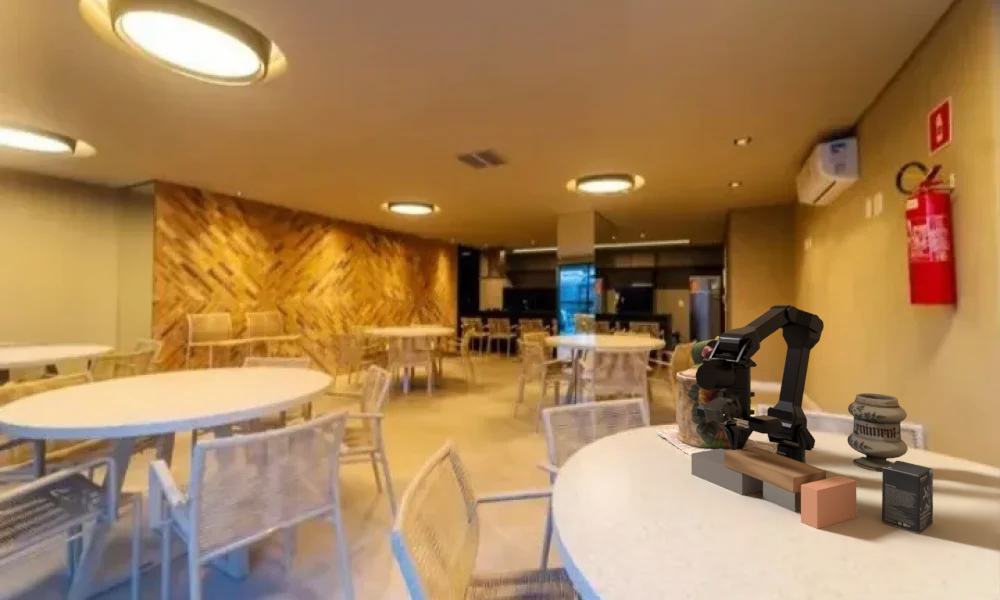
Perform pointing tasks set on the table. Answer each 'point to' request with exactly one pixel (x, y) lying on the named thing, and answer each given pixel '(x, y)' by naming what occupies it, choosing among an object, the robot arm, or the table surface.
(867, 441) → the apothecary jar
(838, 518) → the end stop
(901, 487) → the box
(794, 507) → the support block
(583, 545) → the table surface
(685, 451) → the cookie jar
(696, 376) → the robot arm
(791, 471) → the slab
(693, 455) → the plinth
